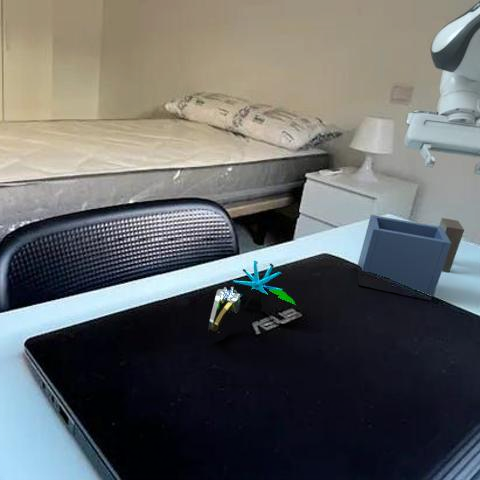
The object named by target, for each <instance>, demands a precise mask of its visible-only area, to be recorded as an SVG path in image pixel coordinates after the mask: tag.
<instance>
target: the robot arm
mask: <svg viewBox="0 0 480 480" xmlns="http://www.w3.org/2000/svg"><path fill="white" fill-rule="evenodd" d="M429 49H430V57H431V61H432V63H433V65H434V67H435V68H436V69H438V70H441V71H442V73H441V78H440V83H439V95H440V97H439V99H438V102H437V110H436V111H432V110H422V109H415V110H414V111H410V112H408V114H407V115H406V121H405V122H406V125H407V130H406V132H405V136H404V140H403V144H404V146H405V147H406V148H408V149H413V150H420V155H421V156H422V158H423V159H424V161H425V162H424V167H427V168H434V166H435V164H436V156H435V155H432V154H431V152H434V153H442V154H448V155H455V156H462V157H470V158H478V159H480V0H479V1H478V2H476V3H475V4H474V5H472V7H470V8H469V9H468V10H467V11H465V12H464V13H462V14H461V15H459V16H458V17H457V16H456V18H454V19H453V20H451V21H450V22H448V23H446V25H444V26H443V27H442V28H441V29H440V30H439V31H438V32H437V34H436V35H435V36H434V38H433V39H432V41H431V45H430V48H429ZM473 173H474V174H475V175H480V162H477V163H476V165H475V166H474V172H473Z"/></svg>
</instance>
